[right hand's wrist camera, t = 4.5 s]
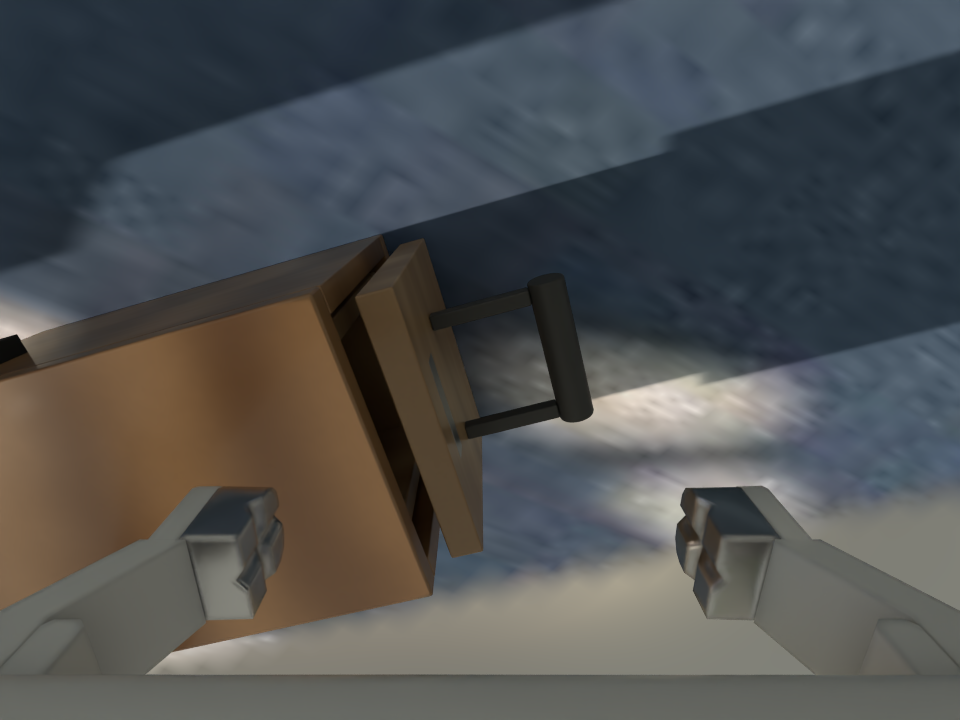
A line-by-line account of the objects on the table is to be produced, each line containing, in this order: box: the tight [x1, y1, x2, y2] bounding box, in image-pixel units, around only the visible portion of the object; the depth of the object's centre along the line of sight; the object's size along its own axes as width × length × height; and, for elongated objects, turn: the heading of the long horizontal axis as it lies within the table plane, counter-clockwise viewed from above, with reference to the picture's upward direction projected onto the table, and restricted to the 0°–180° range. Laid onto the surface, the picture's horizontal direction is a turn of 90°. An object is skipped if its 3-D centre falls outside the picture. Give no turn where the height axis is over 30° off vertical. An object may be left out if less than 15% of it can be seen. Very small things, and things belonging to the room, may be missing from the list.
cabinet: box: [0, 235, 440, 652], centre depth 23 cm, size 18×11×11 cm, turn 105°
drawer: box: [330, 238, 593, 558], centre depth 22 cm, size 22×10×10 cm, turn 105°
